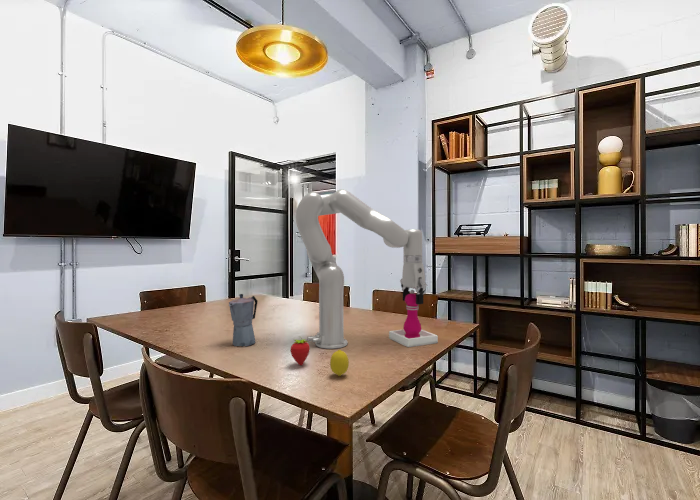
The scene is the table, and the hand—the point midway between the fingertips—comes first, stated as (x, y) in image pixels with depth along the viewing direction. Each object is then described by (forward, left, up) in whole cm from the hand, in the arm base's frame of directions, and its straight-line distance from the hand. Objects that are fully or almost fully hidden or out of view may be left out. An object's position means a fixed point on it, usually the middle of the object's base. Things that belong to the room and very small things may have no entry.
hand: (412, 302), depth 144 cm
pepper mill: (0, 0, -15) cm, 15 cm away
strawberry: (-50, -9, -16) cm, 53 cm away
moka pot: (-63, +25, -16) cm, 70 cm away
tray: (0, 0, -16) cm, 16 cm away
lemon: (-42, -23, -16) cm, 50 cm away
